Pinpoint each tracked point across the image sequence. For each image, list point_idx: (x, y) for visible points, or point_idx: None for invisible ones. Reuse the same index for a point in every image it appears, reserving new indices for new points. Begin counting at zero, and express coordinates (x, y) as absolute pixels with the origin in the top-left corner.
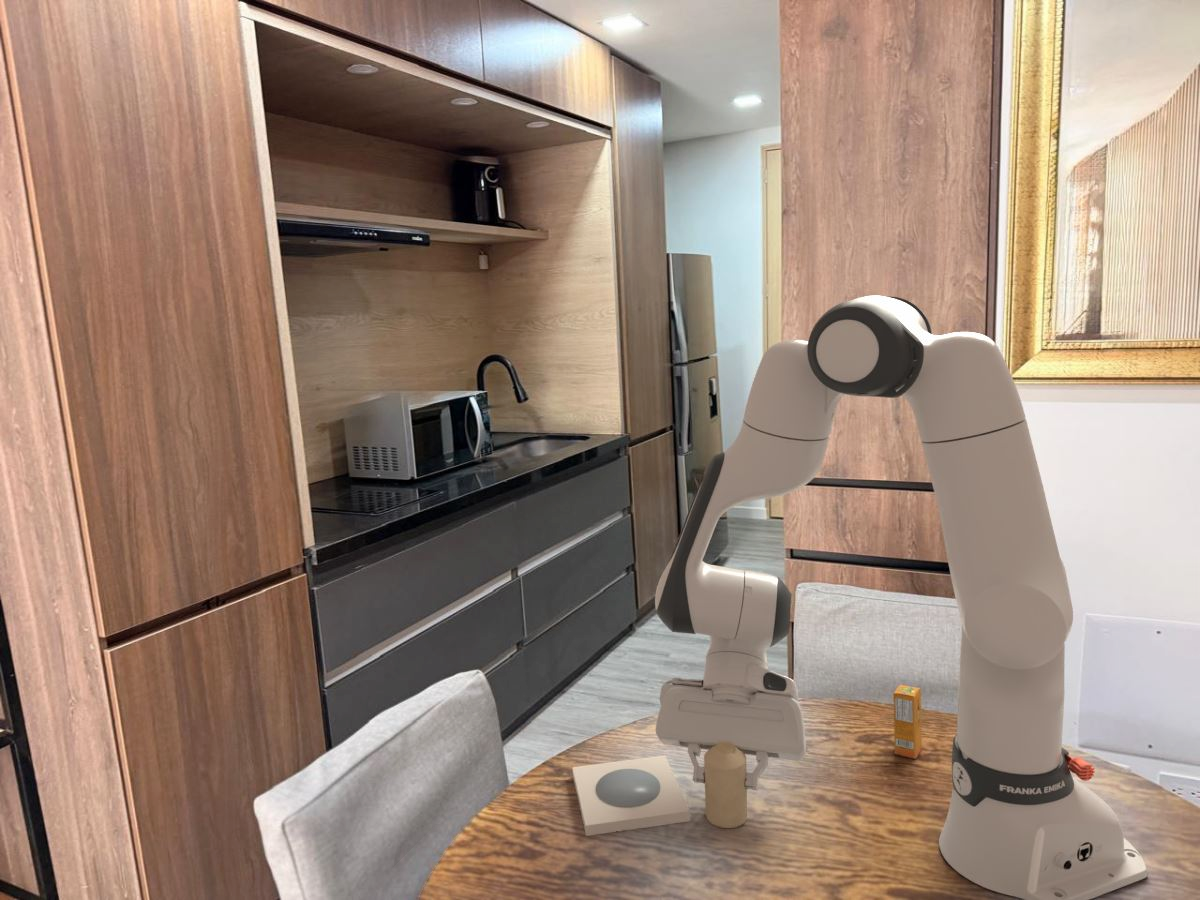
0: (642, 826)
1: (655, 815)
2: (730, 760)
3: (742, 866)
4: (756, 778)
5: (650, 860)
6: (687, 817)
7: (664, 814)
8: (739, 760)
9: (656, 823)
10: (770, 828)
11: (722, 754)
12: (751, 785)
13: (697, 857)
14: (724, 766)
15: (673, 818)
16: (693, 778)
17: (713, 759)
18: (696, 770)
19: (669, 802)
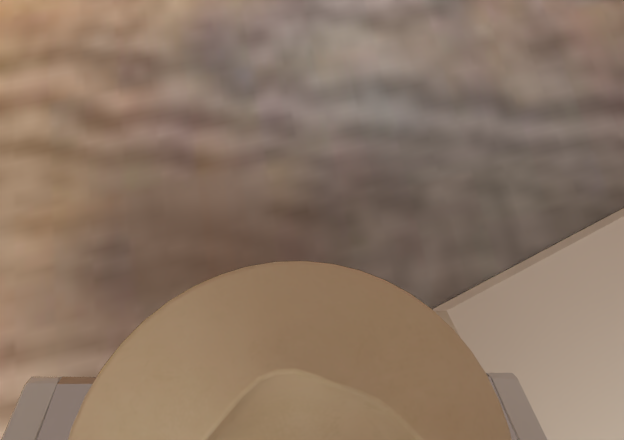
0: (611, 216)
1: (590, 237)
2: (213, 339)
3: (156, 65)
4: (10, 426)
5: (514, 35)
6: (445, 306)
7: (554, 253)
8: (114, 407)
9: (564, 240)
10: (43, 352)
11: (316, 361)
12: (68, 377)
13: (345, 84)
14: (274, 275)
15: (504, 275)
16: (507, 373)
17: (408, 338)
18: (515, 420)
19: (560, 356)
